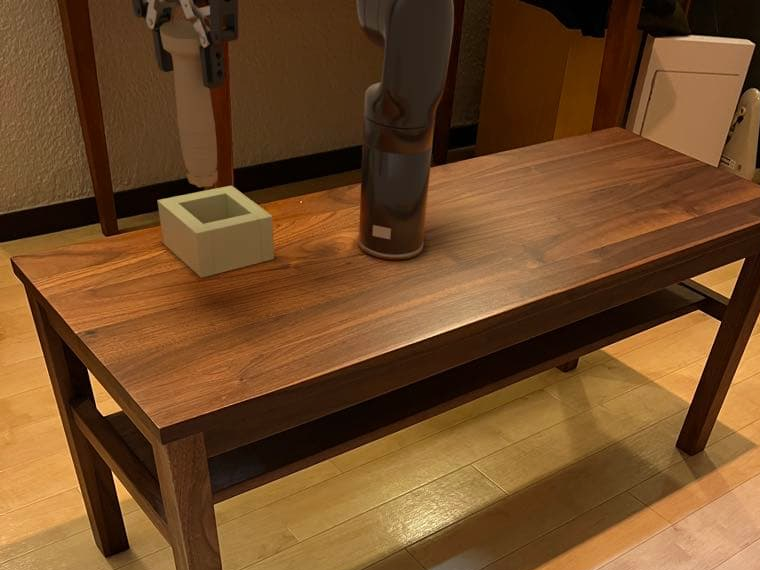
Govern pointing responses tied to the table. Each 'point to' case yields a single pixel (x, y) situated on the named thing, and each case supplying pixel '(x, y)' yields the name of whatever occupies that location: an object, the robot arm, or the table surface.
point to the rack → (216, 230)
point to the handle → (192, 103)
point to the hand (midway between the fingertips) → (191, 77)
